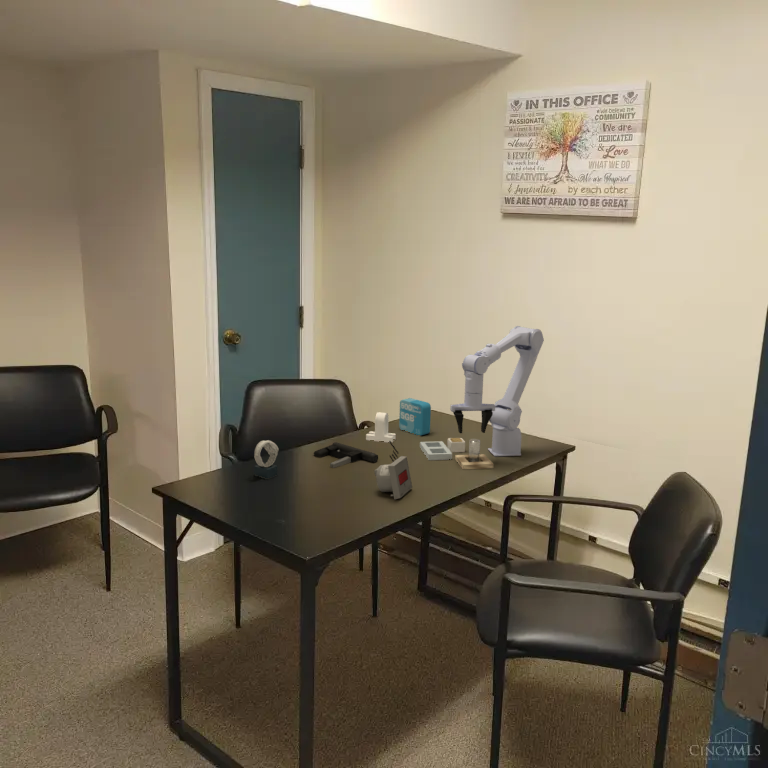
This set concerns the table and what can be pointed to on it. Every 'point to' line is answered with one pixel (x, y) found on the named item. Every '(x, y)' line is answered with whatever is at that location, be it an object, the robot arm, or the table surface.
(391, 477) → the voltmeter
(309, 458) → the table surface
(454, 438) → the key
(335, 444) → the submachine gun
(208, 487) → the table surface
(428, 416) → the data package
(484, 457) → the wooden square frame
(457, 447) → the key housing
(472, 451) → the grey rounded cylinder
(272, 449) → the grey ring on stand
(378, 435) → the cable organizer
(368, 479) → the table surface
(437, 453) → the frame
